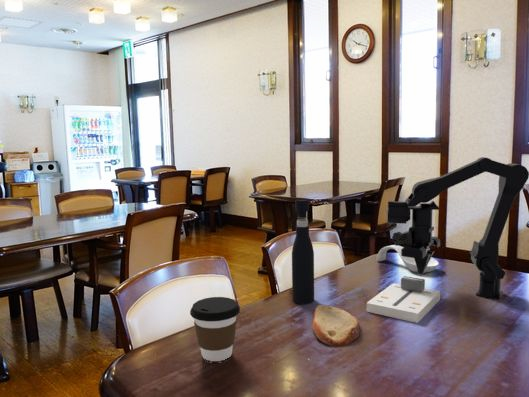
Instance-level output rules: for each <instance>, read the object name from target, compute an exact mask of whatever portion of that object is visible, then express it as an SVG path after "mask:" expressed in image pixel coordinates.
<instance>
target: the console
mask: <svg viewBox="0 0 529 397" xmlns="http://www.w3.org/2000/svg"><path fill="white" fill-rule="evenodd" d="M440 300H441V291H440V290H435V289H430V288H429V289H428V288H425V289H424V290H423V291H422V292H417V291H412V290H406V289H401V283H400V284H399V283H395V282H393V283H391V284H390V285H389V286H387V287H386V288H384V289H383V290H382V291H381V292H379V293H378V294H377V295H375V296H373V297H372V298H371V299H370V300H368V301H367V302H366V310H365V311H366V312H367V313H370V314H375V315H376V314H377V315H381V316H385V317H390V318H394V319H398V320H403V321H407V322H411V323H417V324H418V323H419V322H420V321H421V320H423V318H424V317H425V316H426V315H427V314H428V313H429V312H430V311H431V310H432V309H433V308H434V306H436V304H437V303H438V302H439V301H440Z"/></svg>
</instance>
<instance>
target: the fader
mask: <svg viewBox="0 0 529 397" xmlns="http://www.w3.org/2000/svg"><path fill="white" fill-rule="evenodd" d="M400 284H401V289H406V290H412V291H417V292H422V291H423V290H424V289H426V286H425V284H426V279H424V278H419V277H412V276H406V275H404V276H403V277H401V279H400Z"/></svg>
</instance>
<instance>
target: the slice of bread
mask: <svg viewBox="0 0 529 397" xmlns="http://www.w3.org/2000/svg"><path fill="white" fill-rule="evenodd" d="M312 332H313V334H314V335H315V337H316V338H317V339H318V340H319V341H321V342H322V343H323V344H325V345H327V346H331V347H334V348H336V347H338V348H339V347H344V346H349V345H350V344H351V343H352V342H353V341H354V340H356V339H357V338H358V337H359V336H360V327H359V321H358V319H357V317H355V316H353V315H351V314H350V313H349V311H347V310H345V309H341V308H339V307H336V306H330V305H325V304H321V305H320V304H319V305H317V306H316V308H315V309H314V314H313V320H312Z"/></svg>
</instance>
